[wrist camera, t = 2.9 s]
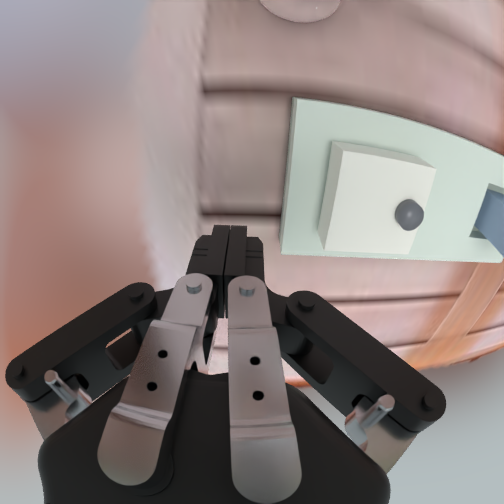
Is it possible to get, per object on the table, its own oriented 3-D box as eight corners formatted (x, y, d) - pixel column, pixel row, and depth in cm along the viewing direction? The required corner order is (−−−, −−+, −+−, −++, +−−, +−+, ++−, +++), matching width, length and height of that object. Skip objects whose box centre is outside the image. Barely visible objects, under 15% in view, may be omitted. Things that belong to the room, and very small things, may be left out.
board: (292, 96, 17) (297, 99, 15) (522, 165, 18) (535, 174, 16) (278, 237, 24) (281, 254, 22) (490, 250, 25) (500, 262, 23)
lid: (332, 140, 16) (347, 154, 14) (418, 157, 16) (443, 173, 14) (317, 231, 20) (326, 257, 18) (395, 236, 21) (412, 260, 18)
